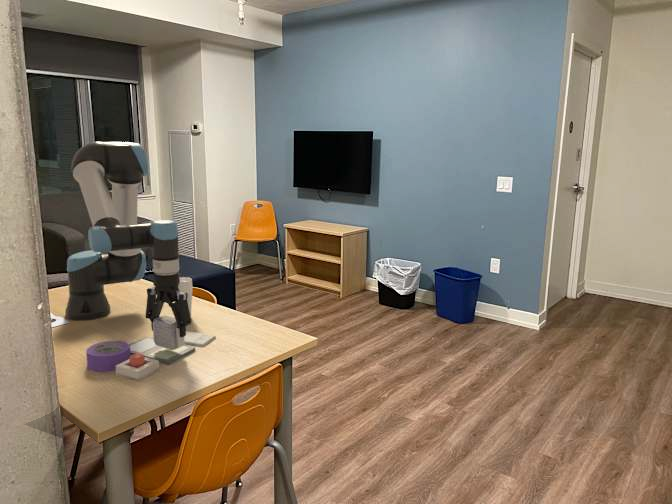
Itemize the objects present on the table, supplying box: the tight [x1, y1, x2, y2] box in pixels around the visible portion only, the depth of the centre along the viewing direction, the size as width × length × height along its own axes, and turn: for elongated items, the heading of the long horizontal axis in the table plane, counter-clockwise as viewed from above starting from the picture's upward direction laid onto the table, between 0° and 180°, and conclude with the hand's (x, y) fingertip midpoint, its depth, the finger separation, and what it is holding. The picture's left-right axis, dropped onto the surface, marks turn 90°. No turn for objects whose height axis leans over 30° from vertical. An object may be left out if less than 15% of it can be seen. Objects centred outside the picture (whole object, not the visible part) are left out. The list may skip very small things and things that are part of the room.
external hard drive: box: [184, 330, 217, 347], centre depth 169 cm, size 2×8×12 cm
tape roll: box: [86, 340, 131, 373], centre depth 149 cm, size 12×12×5 cm
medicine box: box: [154, 315, 182, 350], centre depth 155 cm, size 8×4×9 cm, turn 58°
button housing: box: [115, 357, 160, 382], centre depth 144 cm, size 8×8×3 cm
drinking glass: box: [178, 276, 193, 319], centre depth 187 cm, size 7×7×15 cm
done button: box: [129, 354, 145, 368], centre depth 143 cm, size 4×4×3 cm
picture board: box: [128, 336, 196, 366], centre depth 159 cm, size 20×12×1 cm, turn 66°
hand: (169, 343), depth 156 cm, fingers closed on medicine box, 8 cm apart
